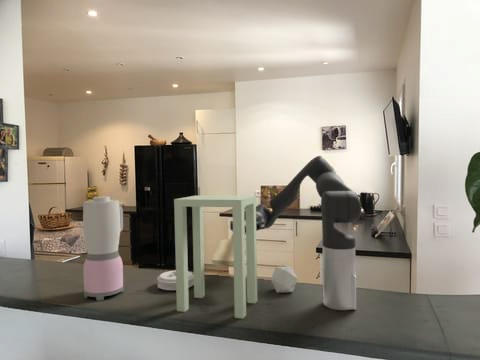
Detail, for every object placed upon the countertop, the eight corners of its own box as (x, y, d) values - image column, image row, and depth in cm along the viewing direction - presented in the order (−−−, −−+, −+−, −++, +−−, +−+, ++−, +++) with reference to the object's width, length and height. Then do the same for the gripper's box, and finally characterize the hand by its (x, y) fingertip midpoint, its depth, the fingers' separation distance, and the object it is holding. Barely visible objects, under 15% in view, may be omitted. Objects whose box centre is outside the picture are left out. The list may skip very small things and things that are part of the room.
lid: (199, 289, 124) (198, 274, 124) (161, 295, 119) (161, 280, 119) (188, 279, 136) (188, 266, 136) (154, 284, 131) (153, 270, 130)
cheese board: (257, 226, 131) (256, 220, 130) (243, 267, 115) (241, 261, 114) (231, 225, 134) (229, 220, 133) (213, 265, 118) (211, 259, 117)
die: (290, 299, 114) (304, 272, 117) (266, 284, 116) (280, 258, 119) (287, 299, 122) (300, 274, 125) (264, 286, 123) (278, 261, 126)
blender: (103, 303, 112) (100, 198, 111) (74, 298, 117) (71, 198, 116) (138, 287, 127) (135, 195, 126) (111, 283, 132) (108, 194, 131)
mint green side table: (257, 300, 112) (255, 195, 111) (243, 318, 99) (241, 199, 98) (197, 294, 118) (195, 195, 117) (176, 310, 105) (174, 199, 104)
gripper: (270, 232, 141) (258, 240, 125) (236, 230, 146) (220, 239, 129) (270, 212, 141) (258, 218, 125) (235, 211, 145) (219, 217, 129)
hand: (238, 229), depth 127 cm, fingers closed on cheese board, 3 cm apart
